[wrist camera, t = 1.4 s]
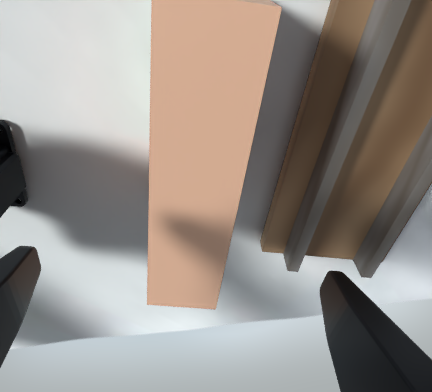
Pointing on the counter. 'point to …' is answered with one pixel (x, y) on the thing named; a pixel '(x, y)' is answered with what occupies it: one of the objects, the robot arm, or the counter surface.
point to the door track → (358, 137)
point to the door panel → (201, 137)
